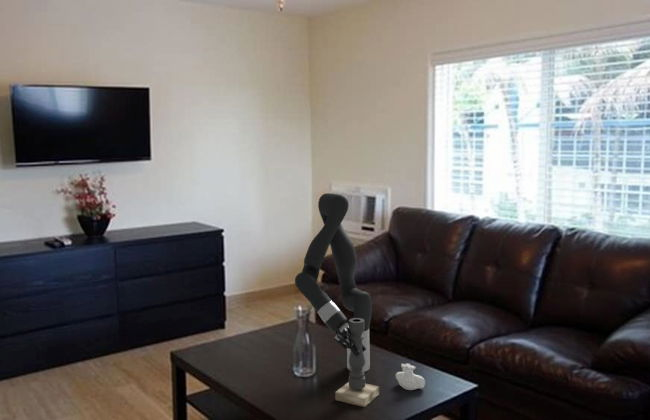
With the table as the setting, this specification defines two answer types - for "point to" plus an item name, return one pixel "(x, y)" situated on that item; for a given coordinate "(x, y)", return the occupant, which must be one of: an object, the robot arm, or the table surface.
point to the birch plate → (357, 394)
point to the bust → (409, 378)
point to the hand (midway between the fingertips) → (361, 352)
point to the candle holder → (358, 361)
